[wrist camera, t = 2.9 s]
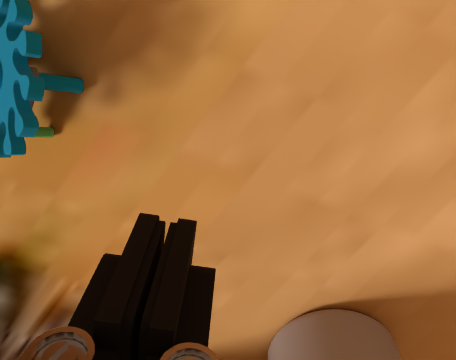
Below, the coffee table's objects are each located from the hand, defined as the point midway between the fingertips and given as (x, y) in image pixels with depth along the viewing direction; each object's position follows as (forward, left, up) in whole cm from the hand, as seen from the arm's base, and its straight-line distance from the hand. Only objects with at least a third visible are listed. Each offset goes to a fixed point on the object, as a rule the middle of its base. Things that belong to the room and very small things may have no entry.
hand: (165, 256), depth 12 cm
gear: (+13, 0, -19) cm, 22 cm away
